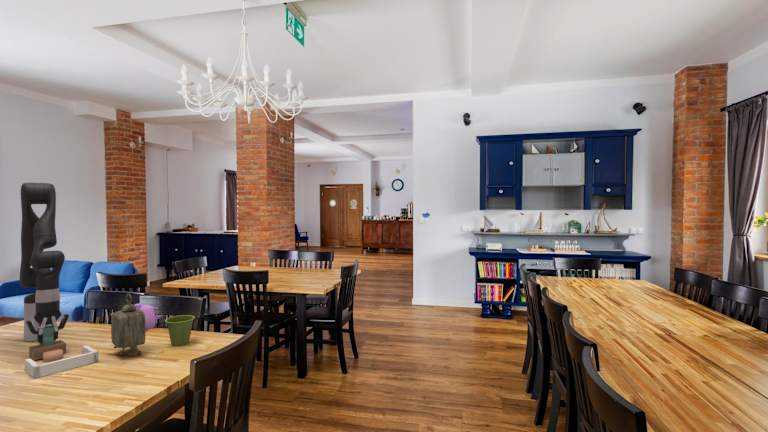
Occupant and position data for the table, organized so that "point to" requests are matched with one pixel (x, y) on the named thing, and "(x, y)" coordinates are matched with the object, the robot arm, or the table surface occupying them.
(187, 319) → the plant pot
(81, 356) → the frame
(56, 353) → the pink rounded dome
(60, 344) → the brown and teal block
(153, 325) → the teakettle
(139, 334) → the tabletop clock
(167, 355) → the table surface
